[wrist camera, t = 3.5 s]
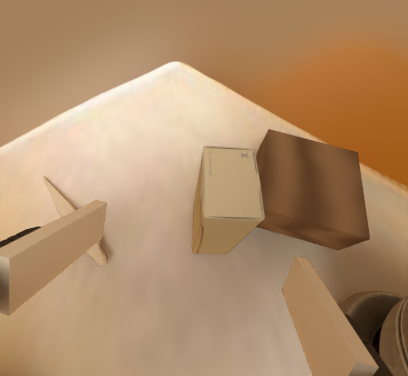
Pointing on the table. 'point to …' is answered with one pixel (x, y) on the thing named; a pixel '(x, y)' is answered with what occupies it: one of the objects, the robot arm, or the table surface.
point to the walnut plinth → (311, 191)
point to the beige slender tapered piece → (67, 208)
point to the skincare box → (226, 199)
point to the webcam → (383, 325)
